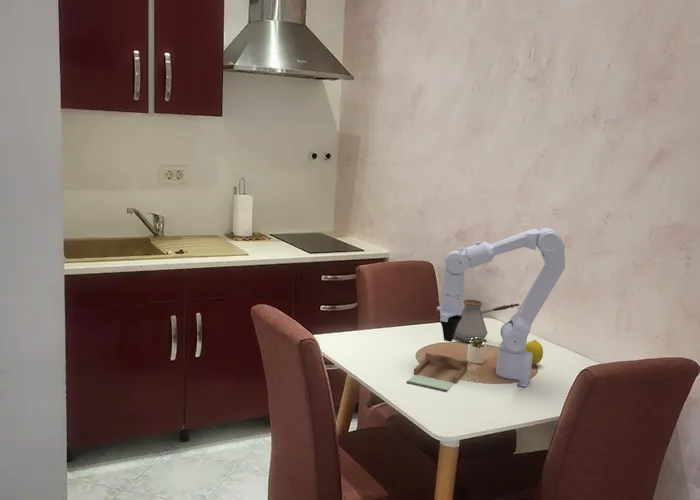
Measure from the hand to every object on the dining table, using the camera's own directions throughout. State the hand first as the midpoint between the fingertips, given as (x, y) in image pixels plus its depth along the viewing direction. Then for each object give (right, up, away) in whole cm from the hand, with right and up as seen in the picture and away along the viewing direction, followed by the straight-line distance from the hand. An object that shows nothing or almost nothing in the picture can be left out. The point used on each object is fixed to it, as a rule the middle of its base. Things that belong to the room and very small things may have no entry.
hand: (448, 340), depth 187 cm
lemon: (+27, -9, +12) cm, 31 cm away
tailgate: (-5, -9, -8) cm, 14 cm away
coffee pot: (+16, -5, +32) cm, 36 cm away
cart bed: (-3, -10, -3) cm, 11 cm away
